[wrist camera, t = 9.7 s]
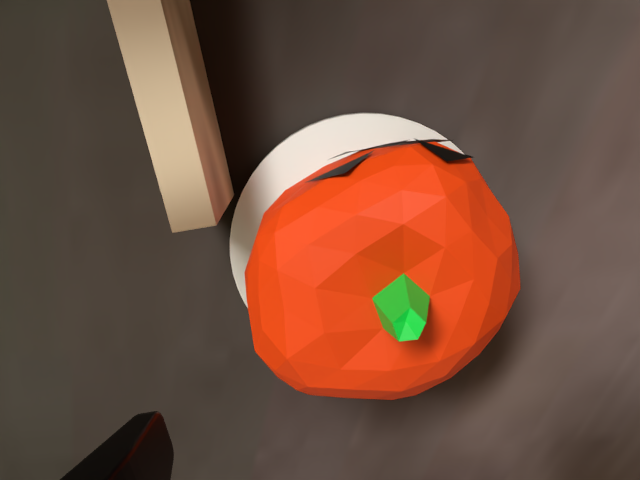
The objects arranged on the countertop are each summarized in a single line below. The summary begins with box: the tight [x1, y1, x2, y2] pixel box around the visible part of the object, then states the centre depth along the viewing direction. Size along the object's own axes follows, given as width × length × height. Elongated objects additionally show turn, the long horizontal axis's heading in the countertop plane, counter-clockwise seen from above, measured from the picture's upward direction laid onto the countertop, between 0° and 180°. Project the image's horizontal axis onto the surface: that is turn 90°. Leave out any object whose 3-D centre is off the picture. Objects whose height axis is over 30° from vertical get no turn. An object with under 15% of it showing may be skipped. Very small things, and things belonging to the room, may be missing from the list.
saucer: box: [230, 112, 464, 308], centre depth 16 cm, size 9×9×1 cm
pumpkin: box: [244, 138, 520, 400], centre depth 13 cm, size 7×8×6 cm
